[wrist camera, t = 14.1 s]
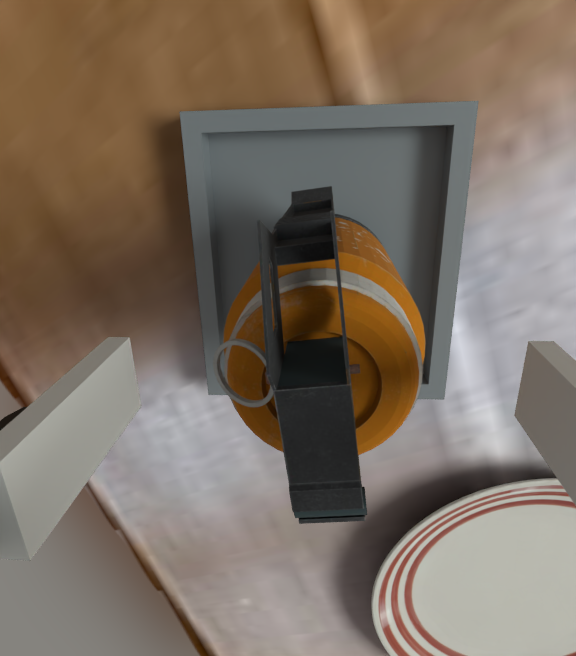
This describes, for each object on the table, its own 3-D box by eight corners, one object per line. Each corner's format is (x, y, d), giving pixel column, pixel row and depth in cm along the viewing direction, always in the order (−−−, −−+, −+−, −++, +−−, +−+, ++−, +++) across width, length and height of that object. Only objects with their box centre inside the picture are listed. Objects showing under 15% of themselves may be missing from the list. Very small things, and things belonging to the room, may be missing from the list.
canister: (272, 341, 34) (203, 569, 15) (246, 189, 30) (114, 251, 12) (393, 329, 33) (476, 561, 14) (383, 169, 29) (479, 204, 10)
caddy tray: (191, 114, 29) (179, 111, 27) (466, 105, 28) (478, 100, 26) (216, 379, 37) (208, 394, 34) (436, 382, 35) (444, 399, 33)
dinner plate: (742, 482, 36) (780, 513, 33) (612, 693, 46) (632, 732, 43) (400, 433, 37) (407, 458, 34) (346, 650, 47) (348, 685, 44)
